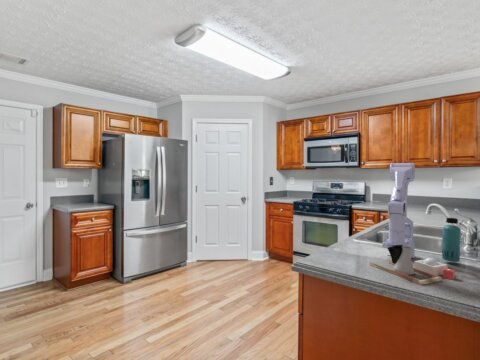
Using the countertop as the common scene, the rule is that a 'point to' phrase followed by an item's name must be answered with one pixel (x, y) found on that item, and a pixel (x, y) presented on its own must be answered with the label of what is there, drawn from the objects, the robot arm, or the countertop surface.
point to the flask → (404, 262)
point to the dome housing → (430, 267)
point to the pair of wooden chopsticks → (432, 277)
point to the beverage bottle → (451, 241)
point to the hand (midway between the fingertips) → (395, 263)
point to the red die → (448, 273)
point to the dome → (430, 262)
